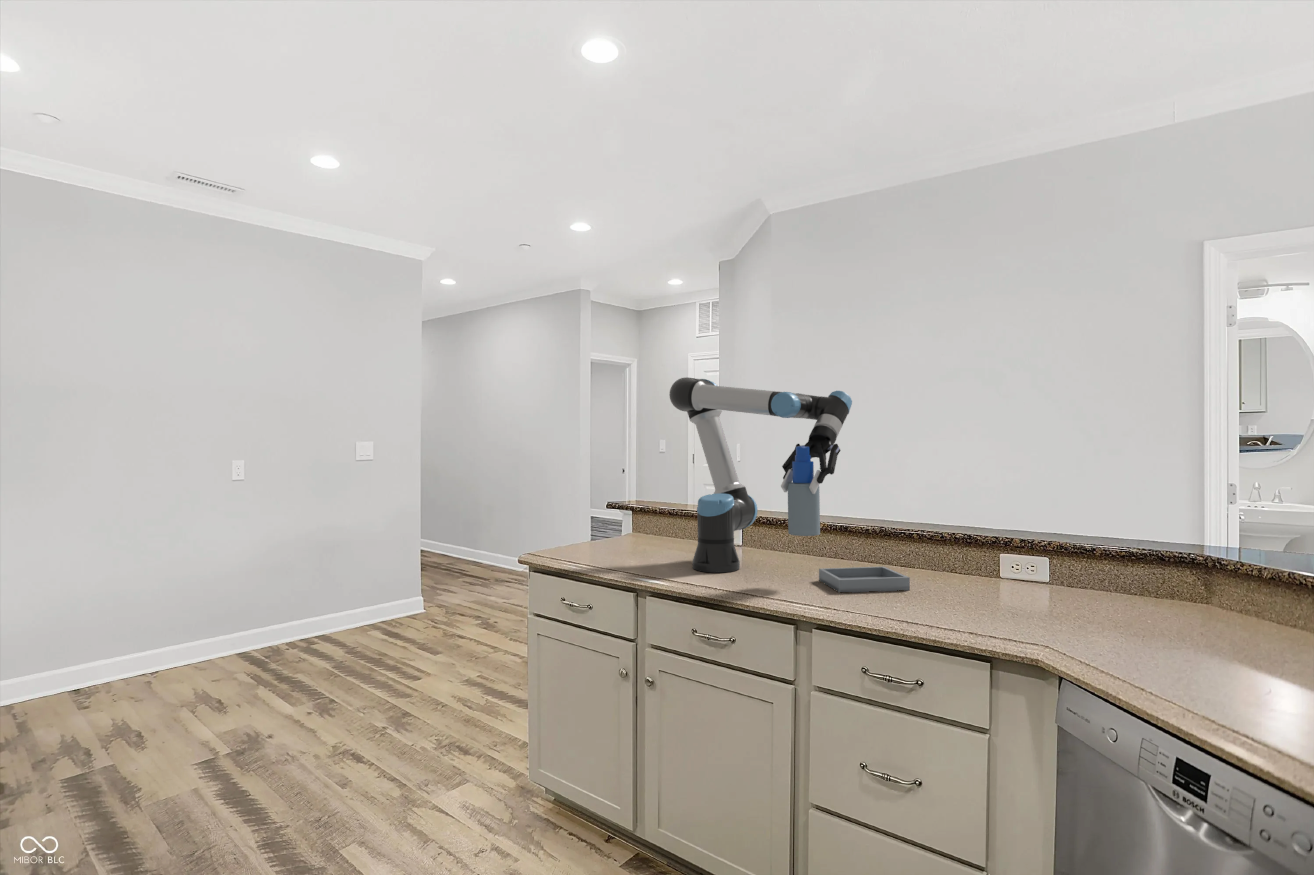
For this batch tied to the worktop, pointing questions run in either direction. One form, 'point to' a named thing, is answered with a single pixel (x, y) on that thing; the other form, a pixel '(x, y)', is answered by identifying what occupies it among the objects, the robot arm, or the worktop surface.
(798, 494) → the spray bottle
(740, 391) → the robot arm
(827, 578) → the tray
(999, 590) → the worktop surface
